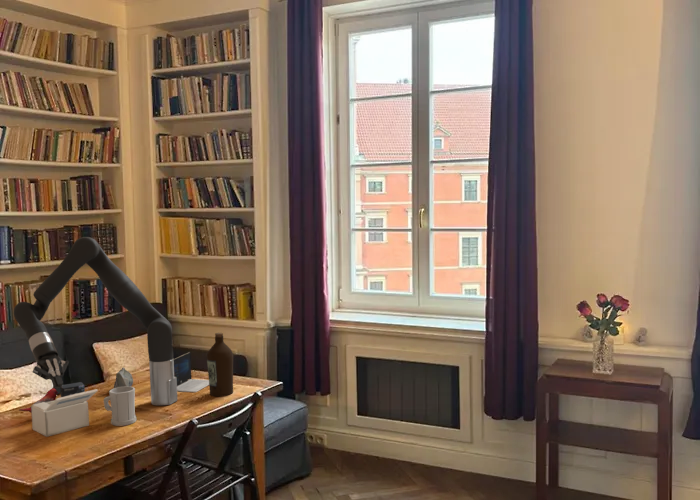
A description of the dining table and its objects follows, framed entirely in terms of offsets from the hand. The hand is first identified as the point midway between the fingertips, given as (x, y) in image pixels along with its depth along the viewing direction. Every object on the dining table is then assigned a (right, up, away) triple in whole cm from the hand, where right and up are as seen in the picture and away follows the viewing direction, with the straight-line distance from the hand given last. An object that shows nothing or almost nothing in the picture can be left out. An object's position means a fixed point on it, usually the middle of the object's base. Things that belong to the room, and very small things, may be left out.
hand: (59, 386), depth 235 cm
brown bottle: (+49, -11, +40) cm, 64 cm away
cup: (+20, -14, +6) cm, 25 cm away
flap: (+4, -6, -3) cm, 7 cm away
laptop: (+35, -11, +52) cm, 64 cm away
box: (-3, -14, +20) cm, 25 cm away
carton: (0, -15, +2) cm, 15 cm away
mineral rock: (+7, -12, +50) cm, 52 cm away
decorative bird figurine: (-13, -15, +12) cm, 23 cm away
